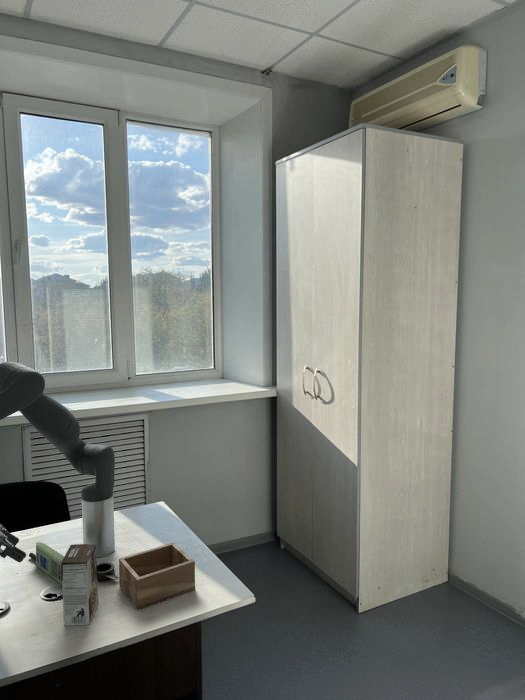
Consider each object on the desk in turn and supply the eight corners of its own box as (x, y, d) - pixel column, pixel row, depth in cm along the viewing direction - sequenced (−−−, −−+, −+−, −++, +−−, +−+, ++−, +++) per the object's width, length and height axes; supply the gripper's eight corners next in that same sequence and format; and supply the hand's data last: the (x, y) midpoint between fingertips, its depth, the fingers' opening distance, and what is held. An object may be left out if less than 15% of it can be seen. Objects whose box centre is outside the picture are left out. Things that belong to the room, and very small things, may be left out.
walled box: (119, 586, 142) (118, 558, 141) (174, 569, 151) (173, 542, 150) (138, 610, 131) (137, 580, 130) (195, 589, 140) (194, 561, 139)
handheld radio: (67, 591, 140) (24, 560, 156) (79, 587, 142) (35, 557, 159) (67, 567, 139) (24, 539, 156) (79, 563, 142) (35, 535, 158)
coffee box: (73, 604, 134) (70, 543, 132) (99, 603, 134) (96, 542, 133) (62, 626, 125) (59, 562, 123) (90, 625, 125) (88, 560, 124)
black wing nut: (91, 589, 141) (90, 579, 140) (88, 571, 150) (87, 562, 150) (120, 583, 144) (120, 573, 143) (116, 566, 153) (115, 556, 153)
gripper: (-24, 510, 108) (38, 548, 115) (-32, 489, 119) (25, 525, 127) (-52, 542, 105) (13, 579, 113) (-57, 518, 117) (2, 552, 125)
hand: (19, 550), depth 120 cm, fingers open, 8 cm apart
